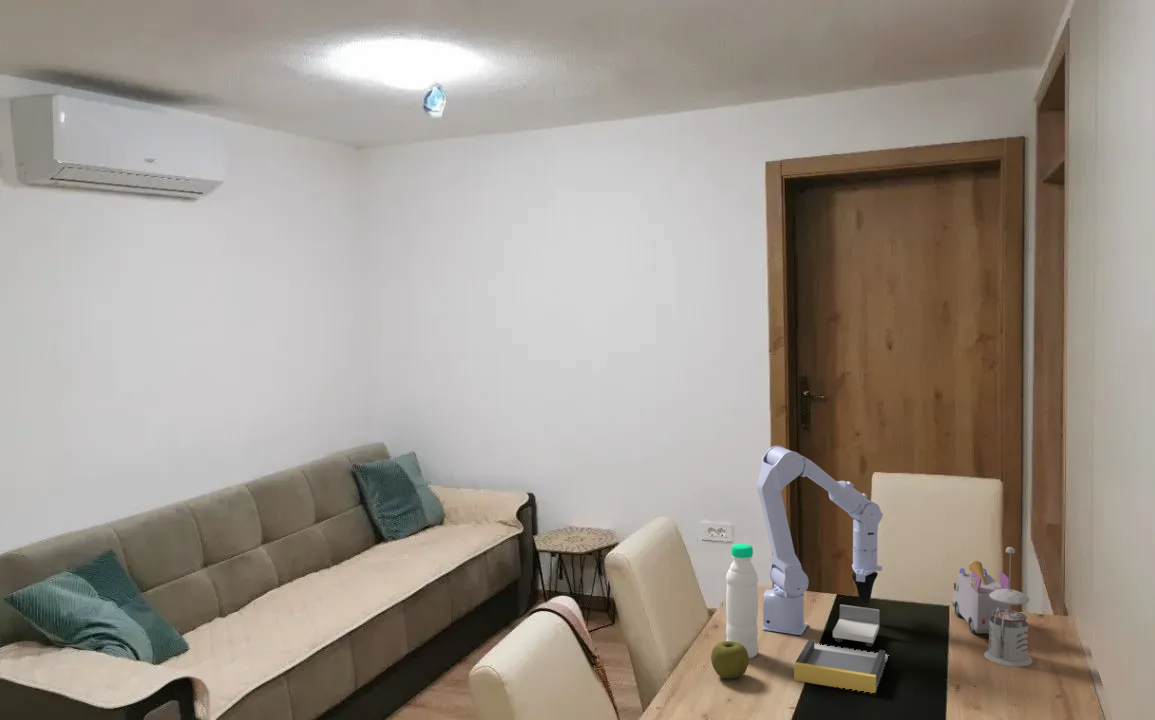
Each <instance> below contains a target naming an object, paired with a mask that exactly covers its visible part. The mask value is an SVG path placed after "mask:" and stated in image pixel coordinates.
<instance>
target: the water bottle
mask: <svg viewBox="0 0 1155 720" xmlns="http://www.w3.org/2000/svg"><path fill="white" fill-rule="evenodd" d="M730 549H731V552H730V553H731V558H732V559H733V561H732V563H731V564H730V567H729V569H728V571H727V572H726V576H725V580H726V583H727V584H726V590H725V592H726V596H725V598H726V599H725V602H726V604H725V606H726V607H725V609H726V624H725V625H726V626H725V633H726V640H725V641H734V642H738V643H740V644H742V645H743V646H744V647H745V648H746V650H747V653H748V656H749V659H753V658H755V657H756V656H757V655H758V653H759V652H758V651H759V648H758V646H759V645H758V635H759V632H758V631H759V629H758V615H759V614H758V611H759V609H758V608H759V603H758V601H759V595H758V583H759V577H758V574H757V572H756V570H755V567H754V564H753V563H752V559H753V555H754V554H753V553H754V552H753V551H754V549H753V546H752V545H750V544H748V543H735V544H733V545H732V546H731V548H730Z"/></svg>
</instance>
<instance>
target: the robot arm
mask: <svg viewBox="0 0 1155 720" xmlns="http://www.w3.org/2000/svg"><path fill="white" fill-rule="evenodd" d="M760 460H761V469H760V472H759V477H758V479H757V484H756V485H757V486H756V487H757V488H756V489H757V492H758V493H757V494H758V497H759V500H760V505H761V510H762V513H763V518H764V519H763V520H764V523H765V526H766V532H767V536H768V540H769V545H770V550H771V553H772V556H771V557H770V558H769V562H770V563H769V564H770V568H769V578H770V581H772V583H773V589H766V590H765V592H764V594H763V603H762V630H763V631H769V632H777V633H782V634H789V635H795V636H802V635H803V634H804V632H805V631H806V629H807V627H808V626H809V623H808V622H805V621H804V620H805V617H804V616H805V593H806V591H807V590H808V589H809V588H808V587H809V584H810V583H809V577H808V575H807V574H806V572H804V570H803V567H802V564H801V562H800V560H799V558H798V557H797V554H796V553H795V548H794V544H793V539H792V534H791V531H790V527H789V522H788V521H789V520H788V516H787V514H786V509H785V504H784V499H783V495H782V491H783V490H784V488H785V487H786V486H787V485H789V484H790V483H791V482H792V481H794V480H795V479H796V478H797V477H802V478H805V477H807V478H809V479H810V480H811V481H813V482H814V483H815V484H817V485H819V487H821V488H823V489H824V490H825V491H827V492H828V497H829V500H830V501H831V502H833V503H834V504H835V505H837V506H838V507H839V508H841V509H842V510H843V511H845V512H846V513H847V514H848V515H849V516H850V518H852V519H853V520H852V522H853V523H852V525H853V526H852V564H851V568H852V570H853V573H852V574H851V577H852V580H853V582H854V584H855V586H856V590H857V595H858V599H859V603H861V604H870V601H871V597H872V591H873V588H874V583H875V581H876V580H877V577H878V574H879V572H881V571H882V570H883V565H882V566H881V565H878V532H879V531H878V530H879V524H880V522H881V521H882V519H883V515H884V513H883V512H882V510H881V508H880V506H879V504H878V503H876V502H874V501H872V500H870V499H868V495H867V494H866V493H861V492H860V491H858V489H856V488H855V487H854V486H855V484H854V483H852V482H851V481H846V480H839V481H838V480H836V479H834V478H833V477H831V476H830V475H829V474H828V473H827V472H826V471H824V470H823V469H822V468H821V467H820V466H819V465H817V464H816V463H815V462H813V461H812V460H811V459H808V457H805V456H803V455H801V454H800V453H799V452H797V451H792V450H790V449H787V448H786V447H784V446H781V445H773V446H771V447H770V448H768V449H767V450H766V452H765V453H764V455H763V456H762V457H761V459H760Z"/></svg>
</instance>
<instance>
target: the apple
mask: <svg viewBox="0 0 1155 720" xmlns="http://www.w3.org/2000/svg"><path fill="white" fill-rule="evenodd" d="M710 659H711V664H712V668H713V669H714V671H715V673H716V675H718V676H719V677H720V678H722V679H727V680H728V679H729V680H730V679H737V678H739V677H742V676H744V675H745V673H746V671H747V669H748V667H749V656H748V653H747V650H746V648H745V647H744V646H743V645H742V644H740V643H738V642H734V641H726V640H724V641H720V642H718V643H716V645H714V646H713V648H712V650H711V653H710Z"/></svg>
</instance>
